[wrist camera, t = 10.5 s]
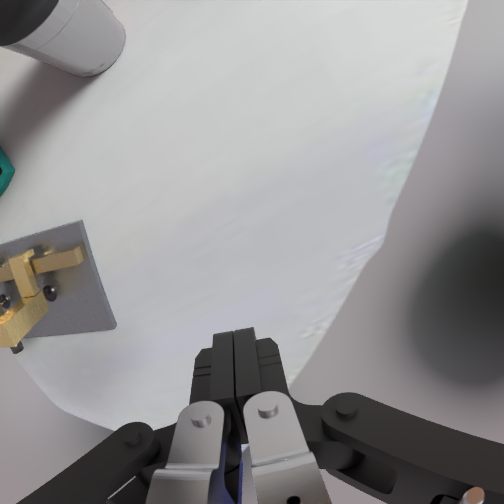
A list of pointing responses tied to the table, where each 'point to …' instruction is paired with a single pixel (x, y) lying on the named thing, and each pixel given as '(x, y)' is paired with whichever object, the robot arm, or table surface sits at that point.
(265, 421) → the robot arm
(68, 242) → the flange plate
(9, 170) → the digital multimeter
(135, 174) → the table surface
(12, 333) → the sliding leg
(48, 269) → the tan block assembly
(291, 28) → the table surface
